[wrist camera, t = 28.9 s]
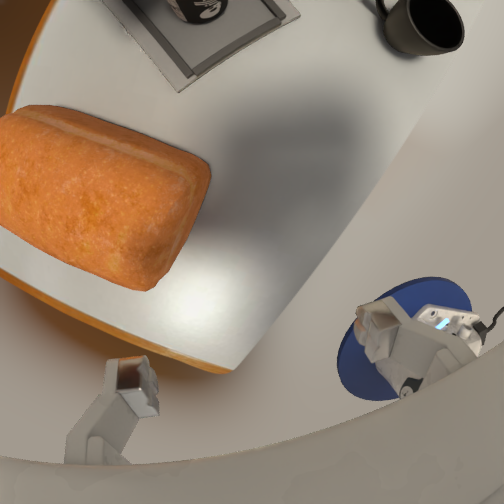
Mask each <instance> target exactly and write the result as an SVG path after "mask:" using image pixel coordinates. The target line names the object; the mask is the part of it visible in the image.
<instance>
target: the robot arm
mask: <svg viewBox="0 0 504 504" xmlns="http://www.w3.org/2000/svg"><path fill="white" fill-rule="evenodd" d="M503 311H504V307H502V308H501V309H500V310H499V311H498V313H497V314H496V315H495V316H494V318H493V323H492V324H491V325H490V326H489V327H488V328H487V327H486V326H485V325H484V324H483V323H482V322H481V321H480V319H479V315H478V314H477V313H475V312H471V311H466V310H460V309H455V308H449V307H444V306H438V305H433V304H426V305H424V306H423V307H422V308H421V309H420V310H419V311H418V312H417V313H416V314H415V315H414V316H413V317H412V318H410V317H409V315H408V314H407V313H406V312H405V311H404V310H403V308H402V307H401V306H400V305H399V304H398V303H397V301H396V300H395V299H394V298H393V297H391V296H389V297H386V298H383V299H380V300H376V301H373V302H370V303H367V304H364V305H361V306H358V307H357V309H356V315H357V317H358V318H357V319H356V321H355V322H354V333H355V337H356V339H357V341H358V343H359V344H361V345H363V346H365V351H364V352H365V354H366V355H367V357H368V359H369V360H370V362H371V363H375V365H376V368H377V370H378V372H379V373H380V374H381V375H382V376H383V377H384V378H385V379H386V380H387V381H388V382H389V384H390V385H391V386H392V387H393V389H394V390H395V392H396V393H397V395H398V396H399V398H400V400H398V401H395V402H393V403H391V404H389V405H386V406H384V407H382V408H379V409H377V410H374V411H372V412H369V413H367V414H364V415H362V416H359V417H357V418H354V419H351V420H349V421H346V422H343V423H340V424H338V425H335V426H332V427H329V428H326V429H323V430H320V431H316V432H313V433H310V434H307V435H304V436H300V437H296V438H293V439H289V440H286V441H282V442H278V443H274V444H270V445H266V446H262V447H258V448H253V449H249V450H244V451H239V452H234V453H229V454H223V455H217V456H211V457H204V458H198V459H191V460H182V461H173V462H163V463H150V464H135V465H134V464H133V465H132V464H131V463H130V462H129V461H128V460H127V459H126V458H124V457H123V456H122V455H121V452H122V451H123V449H124V447H125V445H126V443H127V441H128V439H129V437H130V436H131V434H132V432H133V430H134V428H135V426H136V425H137V423H138V421H139V418H145V417H153V416H159V401H158V399H157V397H156V395H157V393H158V392H159V391H158V381H157V377H156V374H155V372H154V370H153V369H152V368H151V367H149V360H148V359H147V357H146V356H145V355H143V356H135V357H127V358H120V359H112V360H108V361H107V363H106V369H105V376H104V383H103V392H102V394H100V395H98V396H97V398H96V399H95V400H94V402H93V403H92V404H91V406H90V407H89V408H88V409H87V410H86V412H85V413H84V414H83V415H82V417H81V418H80V419H79V421H78V422H77V423H76V424H75V426H74V427H73V428H72V430H71V431H70V432H69V434H68V435H67V439H66V449H65V457H64V464H59V463H48V462H38V461H30V460H23V459H16V458H10V457H4V456H0V504H504V341H503V342H501V343H500V344H498V345H497V346H495V347H494V348H492V349H491V350H489V351H488V352H486V353H484V354H483V355H481V356H480V357H479V355H480V351H481V346H482V345H484V342H485V338H486V334H487V333H488V332H489V331H490V330H492V329H493V328H494V326H495V325H496V319H497V318H498V317H499V315H500V314H501V313H502V312H503Z"/></svg>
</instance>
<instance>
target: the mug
mask: <svg viewBox="0 0 504 504" xmlns="http://www.w3.org/2000/svg"><path fill="white" fill-rule="evenodd" d="M376 7H377V11H378V13H379V15H380V17H381V18H382V19H383V20H384V21H385V23H384V26H383V32H384V36H385V38H386V40H387V42H388V43H389V44H390V45H391V46H392V47H393V48H394V49H396V50H397V51H400V52H403V53H409V54H415V55H423V56H429V55H440V54H444V53H448V52H452V51H455V50H457V49H458V48H459V47H460V46H461V45H462V43H463V40H464V31H465V30H464V25H463V22H462V19H461V17H460V15H459V13H458V11H457V10H456V8H455V7H454V6H453V4H452V3H451V2H450V1H449V0H399V1H398V2H397V3H396V4H395V5H394V6H393V8H392V9H391V11H390V12H388V10H387V9H386V7H385V4H384V0H376Z"/></svg>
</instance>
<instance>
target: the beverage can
mask: <svg viewBox="0 0 504 504" xmlns="http://www.w3.org/2000/svg"><path fill="white" fill-rule="evenodd" d="M167 2H168V3H169V4H170V6H171V7H172V9H173V10H174V12H175V13H176V15H177V16H178V17H179V18H180V19H182V20H184V21H186V22H189V23H205V22H208V21H211V20H213V19H215V18H217V17H218V16H219V15H221V14H222V13H223V11H224V10H225V9H226V7H227V4H228V0H167Z"/></svg>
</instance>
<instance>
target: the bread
mask: <svg viewBox="0 0 504 504" xmlns="http://www.w3.org/2000/svg"><path fill="white" fill-rule="evenodd" d="M210 179H211V173H210V169H209V165H208V164H207V163H205V162H204V161H203V160H201V159H199V158H198V157H196V156H195V155H193V154H191V153H188V152H185V151H181V150H178V149H176V148H174V147H171V146H169V145H167V144H164V143H162V142H160V141H157V140H155V139H153V138H150V137H148V136H146V135H143V134H141V133H138V132H135V131H132V130H129V129H126V128H123V127H120V126H117V125H114V124H111V123H108V122H105V121H103V120H100V119H98V118H95V117H92V116H90V115H87V114H84V113H81V112H79V111H75V110H71V109H67V108H63V107H58V106H52V105H28V106H25V107H23V108H20V109H17V110H16V111H15V112H14V113H11V114H6V115H4V116H3V117H1V118H0V225H1V226H2V227H4V228H6V229H7V230H9V231H11V232H12V233H14V234H15V235H17V236H18V237H20V238H21V239H23V240H25V241H26V242H28V243H29V244H31V245H33V246H34V247H36V248H38V249H40V250H41V251H43V252H45V253H47V254H49V255H51V256H53V257H55V258H57V259H59V260H61V261H63V262H65V263H67V264H69V265H72V266H74V267H77V268H79V269H82V270H84V271H87V272H89V273H92V274H94V275H97V276H99V277H101V278H103V279H106V280H108V281H110V282H112V283H115V284H117V285H120V286H123V287H126V288H129V289H132V290H137V291H145V292H146V291H148V290H150V289H151V288H153V287H155V286H156V284H157V283H158V281H159V280H160V279H161V278H162V277H163V276H164V275H165V274H166V273H167V272H169V270H170V268H171V266H172V265H173V263H174V261H175V259H176V258H177V256H178V254H179V252H180V250H181V249H182V247H183V245H184V243H185V242H186V240H187V238H188V236H189V233H190V231H191V229H192V227H193V224H194V222H195V220H196V217H197V215H198V212H199V210H200V207H201V204H202V202H203V200H204V197H205V194H206V192H207V189H208V186H209V183H210Z"/></svg>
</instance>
